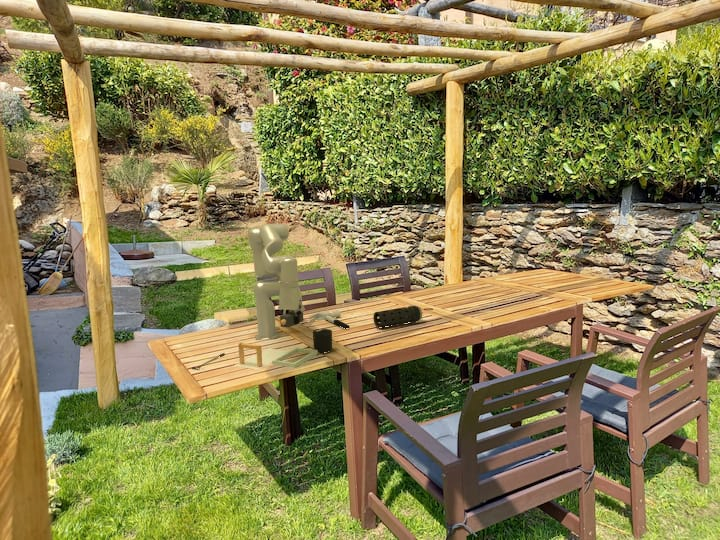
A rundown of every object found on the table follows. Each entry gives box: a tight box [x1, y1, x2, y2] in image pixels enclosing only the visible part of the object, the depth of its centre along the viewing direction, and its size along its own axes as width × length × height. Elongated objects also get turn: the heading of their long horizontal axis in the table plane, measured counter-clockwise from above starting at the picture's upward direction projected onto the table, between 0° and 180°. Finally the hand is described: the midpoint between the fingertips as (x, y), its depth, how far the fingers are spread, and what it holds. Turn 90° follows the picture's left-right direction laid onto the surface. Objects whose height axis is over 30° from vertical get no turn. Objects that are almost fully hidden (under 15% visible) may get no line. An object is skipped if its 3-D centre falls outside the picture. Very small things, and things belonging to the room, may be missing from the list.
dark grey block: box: [279, 310, 304, 329], centre depth 217 cm, size 14×4×5 cm, turn 154°
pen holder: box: [312, 328, 333, 353], centre depth 231 cm, size 9×9×10 cm
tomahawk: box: [191, 352, 226, 371], centre depth 220 cm, size 21×7×1 cm, turn 156°
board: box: [233, 348, 290, 371], centre depth 221 cm, size 26×14×1 cm, turn 155°
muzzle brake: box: [372, 305, 423, 329], centre depth 273 cm, size 10×28×10 cm, turn 117°
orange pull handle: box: [237, 342, 263, 367], centre depth 212 cm, size 2×11×9 cm, turn 65°
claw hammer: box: [307, 310, 350, 330], centre depth 280 cm, size 5×22×30 cm
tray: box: [271, 347, 319, 369], centre depth 219 cm, size 20×12×2 cm, turn 155°
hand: (292, 323), depth 217 cm, fingers closed on dark grey block, 4 cm apart
